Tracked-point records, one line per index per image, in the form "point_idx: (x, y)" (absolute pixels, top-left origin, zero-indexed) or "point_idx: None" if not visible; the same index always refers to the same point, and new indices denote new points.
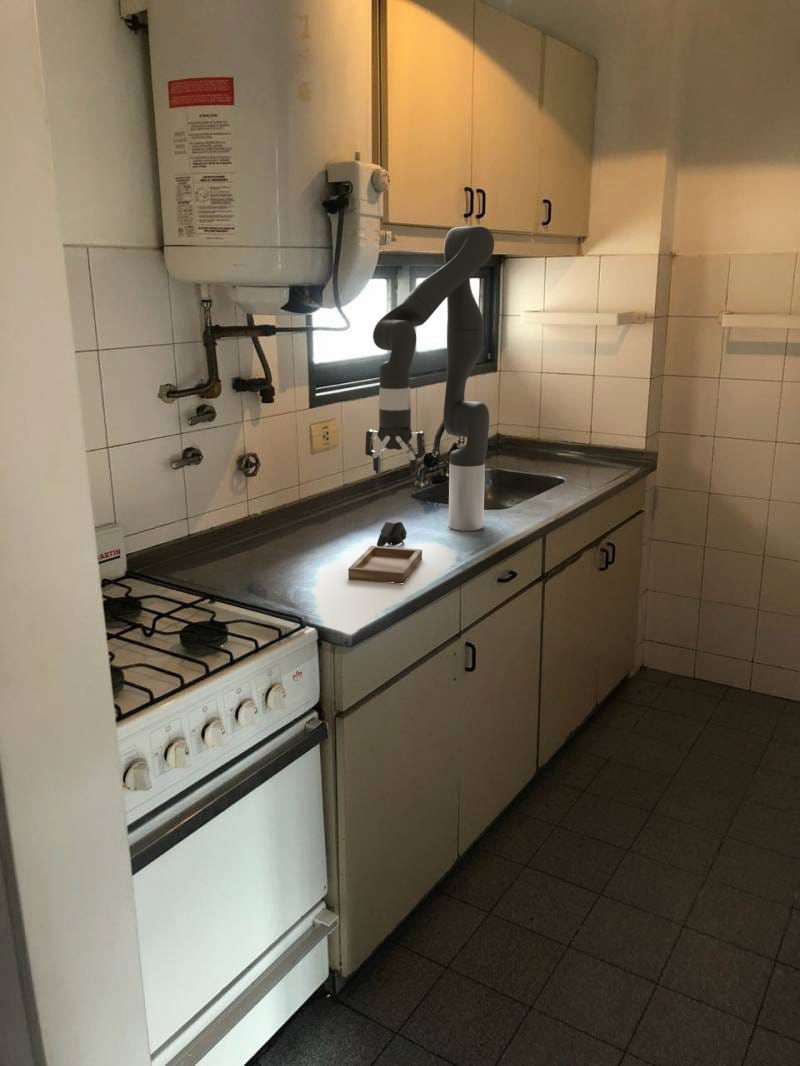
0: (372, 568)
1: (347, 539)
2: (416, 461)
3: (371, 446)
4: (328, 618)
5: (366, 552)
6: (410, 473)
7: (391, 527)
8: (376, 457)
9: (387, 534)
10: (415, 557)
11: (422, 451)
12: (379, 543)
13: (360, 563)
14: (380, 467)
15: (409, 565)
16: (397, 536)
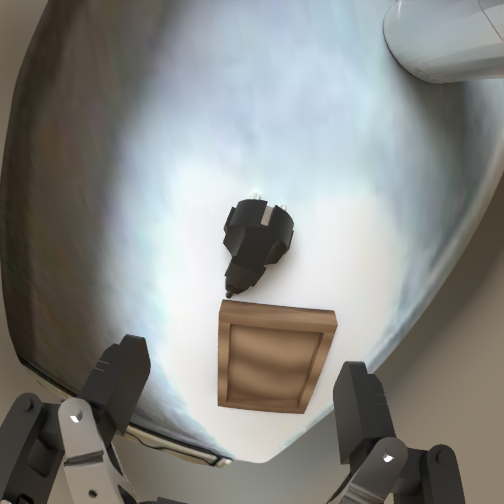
0: (247, 374)
1: (133, 190)
2: (385, 433)
3: (25, 444)
4: (235, 452)
5: (222, 350)
6: (335, 398)
7: (254, 279)
8: (111, 441)
9: (247, 287)
10: (323, 364)
11: (421, 502)
12: (232, 292)
13: (227, 384)
14: (134, 359)
15: (312, 392)
16: (272, 263)
